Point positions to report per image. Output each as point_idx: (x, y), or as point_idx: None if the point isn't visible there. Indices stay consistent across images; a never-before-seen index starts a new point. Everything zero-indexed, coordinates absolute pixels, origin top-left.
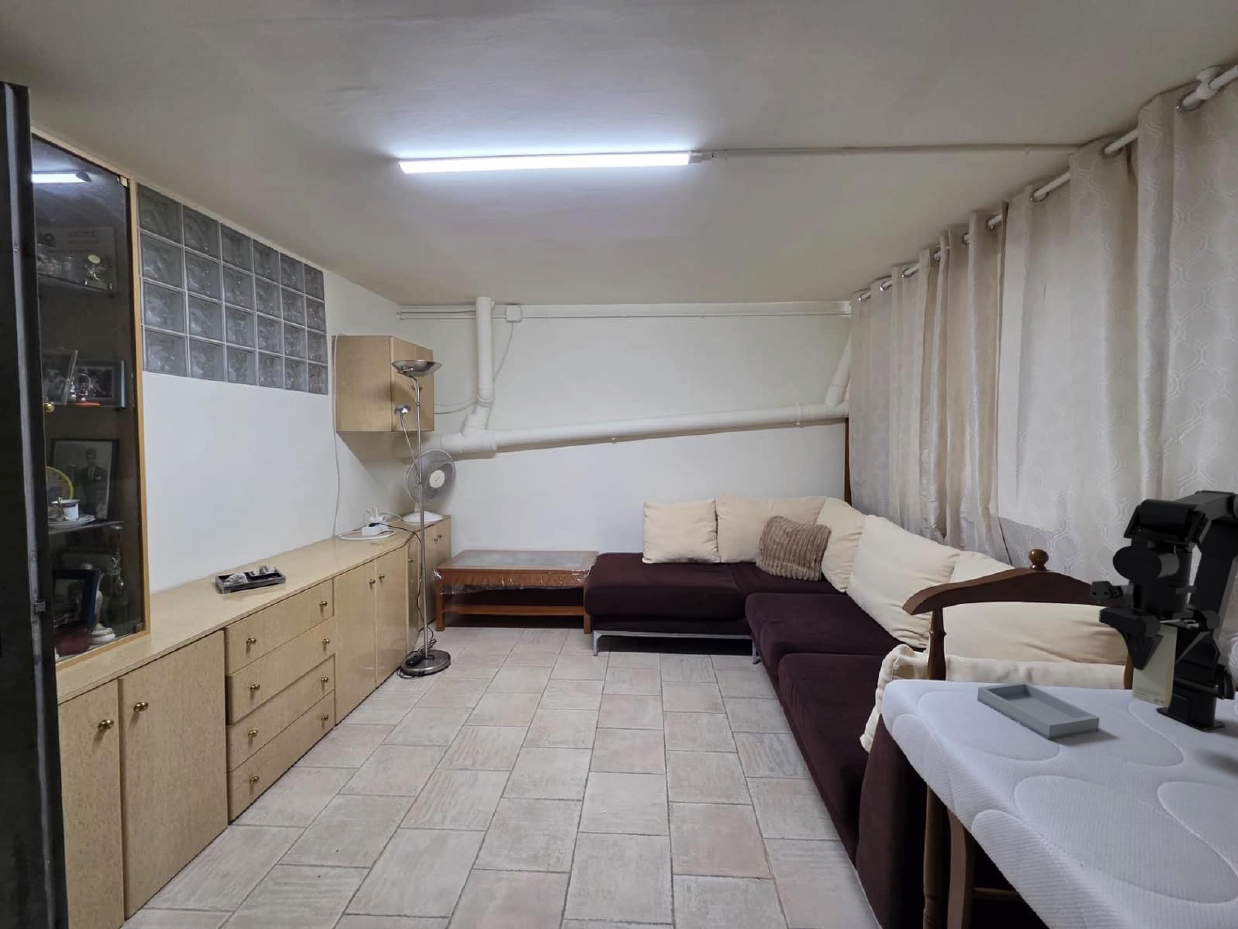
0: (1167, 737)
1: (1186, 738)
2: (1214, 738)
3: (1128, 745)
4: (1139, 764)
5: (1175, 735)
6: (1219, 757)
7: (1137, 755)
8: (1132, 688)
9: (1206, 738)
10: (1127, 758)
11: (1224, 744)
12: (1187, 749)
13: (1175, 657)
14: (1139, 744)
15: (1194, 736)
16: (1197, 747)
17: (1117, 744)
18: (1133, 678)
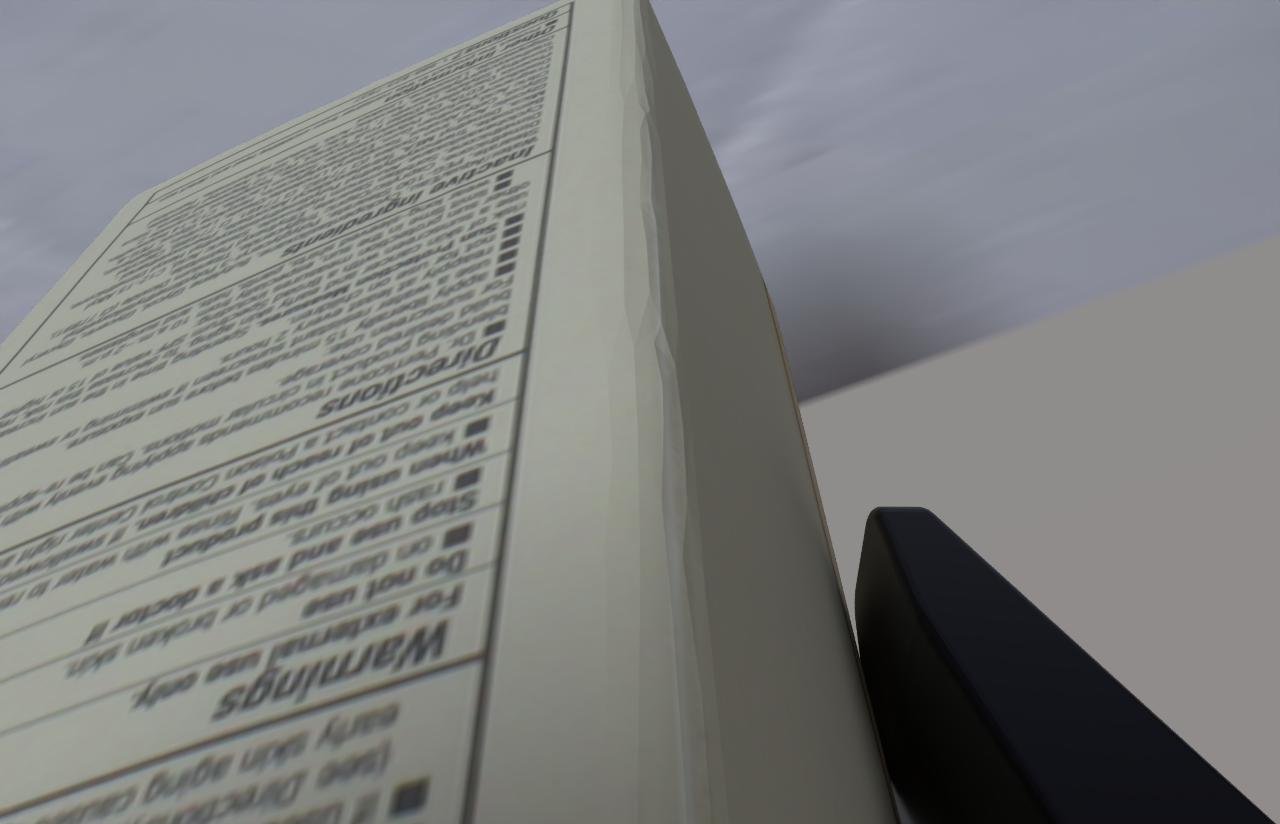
0: (830, 47)
1: (999, 102)
2: (1270, 162)
3: (243, 50)
4: (40, 258)
5: (965, 42)
6: (871, 338)
7: (159, 174)
8: (80, 256)
9: (1194, 145)
10: (13, 183)
11: (1206, 240)
12: (753, 215)
13: (902, 805)
14: (380, 64)
15: (1131, 97)
16: (890, 216)
17: (141, 13)
18: (2, 346)
